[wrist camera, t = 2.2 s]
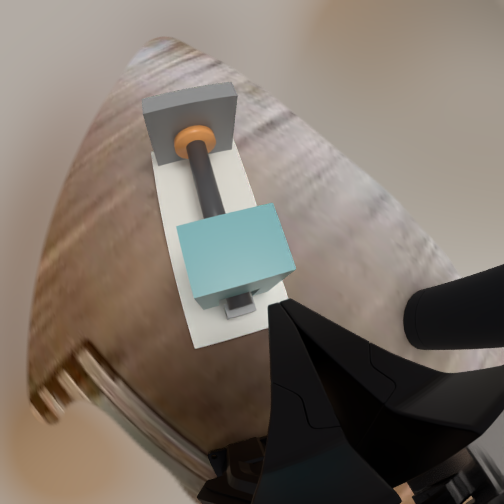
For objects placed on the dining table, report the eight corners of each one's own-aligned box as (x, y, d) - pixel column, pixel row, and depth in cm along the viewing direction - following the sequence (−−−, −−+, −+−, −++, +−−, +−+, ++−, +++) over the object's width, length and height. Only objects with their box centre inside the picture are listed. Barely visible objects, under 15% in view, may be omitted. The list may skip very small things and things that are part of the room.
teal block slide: (289, 319, 22) (329, 313, 14) (196, 347, 21) (183, 359, 12) (230, 143, 26) (237, 80, 18) (153, 160, 25) (135, 100, 17)
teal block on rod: (267, 291, 21) (296, 269, 13) (203, 309, 20) (193, 298, 12) (253, 247, 21) (272, 202, 14) (191, 263, 20) (176, 226, 13)
